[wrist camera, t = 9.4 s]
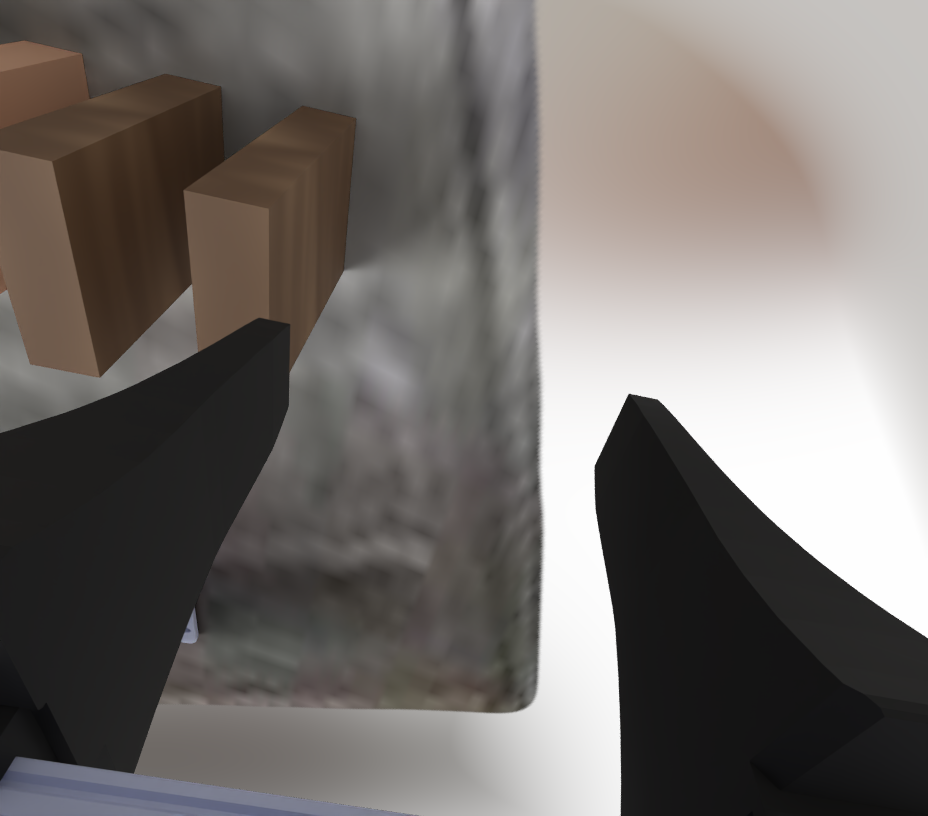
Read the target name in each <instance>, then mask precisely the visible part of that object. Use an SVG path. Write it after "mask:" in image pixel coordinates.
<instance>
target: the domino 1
mask: <svg viewBox="0 0 928 816" xmlns="http://www.w3.org/2000/svg"><path fill="white" fill-rule="evenodd" d="M89 99H90V97H89V92H88V86H87V80H86V74H85V69H84V63H83V57H82V54H81V53H76V52H72V51H68V50H63V49H59V48H55V47H50V46H46V45H42V44H37V43H33V42H29V41H19V42H13V43H7V44H1V45H0V129H2V128H5V127H8V126H11V125H14V124H17V123H20V122H23V121H26V120H29V119H32V118H35V117H38V116H41V115H44V114H47V113H50V112H53V111H56V110H59V109H62V108H65V107H68V106H71V105H74V104H77V103H80V102H83V101H86V100H89ZM5 290H7V287H6V283H5V280H4V277H3V274H2V270H1V267H0V294H1V293H2V292H4V291H5Z"/></svg>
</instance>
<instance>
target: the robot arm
mask: <svg viewBox="0 0 928 816" xmlns="http://www.w3.org/2000/svg"><path fill="white" fill-rule="evenodd" d="M289 366H290V324H288V323H283V322H278V321H273V320H268V319H264V318H257V319H255V320H253V321H251V322H250V323H248V324H246V325H244V326H243V327H241V328H239V329H237V330H236V331H234V332H232V333H231V334H229V335H227V336H226V337H224V338H222V339H221V340H219V341H217V342H215V343H214V344H212V345H210V346H208V347H207V348H205V349H203V350H201V351H199V352H198V353H196V354H194V355H192V356H191V357H189V358H187V359H185V360H183V361H182V362H180V363H178V364H176V365H174V366H172V367H170V368H168V369H166V370H164V371H162V372H160V373H158V374H156V375H154V376H152V377H150V378H148V379H146V380H144V381H142V382H140V383H138V384H136V385H133V386H131V387H129V388H127V389H124V390H122V391H120V392H117V393H115V394H113V395H110V396H108V397H105V398H103V399H100V400H98V401H95V402H93V403H90V404H88V405H85V406H82V407H80V408H77V409H74V410H72V411H69V412H66V413H63V414H60V415H57V416H54V417H50V418H47V419H44V420H41V421H38V422H35V423H32V424H28V425H25V426H22V427H19V428H16V429H13V430H10V431H6V432H3V433H0V816H417V815H410V814H404V813H397V812H390V811H383V810H376V809H370V808H363V807H356V806H349V805H342V804H336V803H329V802H322V801H316V800H309V799H302V798H295V797H288V796H281V795H274V794H267V793H261V792H254V791H248V790H241V789H234V788H227V787H220V786H214V785H206V784H200V783H193V782H186V781H180V780H173V779H166V778H159V777H153V776H145V775H139V774H134V771H135V768H136V766H137V763H138V760H139V757H140V754H141V751H142V748H143V745H144V742H145V739H146V737H147V734H148V731H149V728H150V725H151V722H152V719H153V716H154V713H155V710H156V708H157V705H158V702H159V700H160V697H161V694H162V691H163V689H164V686H165V683H166V681H167V678H168V675H169V672H170V670H171V667H172V664H173V661H174V659H175V656H176V653H177V651H178V648H179V646H180V643H181V642H184V643H195V642H196V641H197V638H198V636H199V634H198V627H197V620H196V613H195V605H196V602H197V600H198V597H199V595H200V592H201V590H202V587H203V585H204V583H205V580H206V578H207V575H208V573H209V570H210V568H211V566H212V563H213V561H214V558H215V556H216V554H217V552H218V550H219V548H220V546H221V544H222V542H223V540H224V538H225V536H226V534H227V532H228V530H229V529H230V527H231V525H232V523H233V521H234V519H235V518H236V516H237V514H238V512H239V510H240V508H241V507H242V505H243V503H244V501H245V499H246V497H247V496H248V494H249V492H250V490H251V488H252V486H253V485H254V483H255V481H256V479H257V477H258V475H259V474H260V472H261V470H262V468H263V466H264V464H265V462H266V461H267V459H268V457H269V455H270V453H271V451H272V449H273V447H274V444H275V442H276V439H277V437H278V434H279V431H280V429H281V426H282V423H283V421H284V418H285V415H286V412H287V410H288V407H289ZM595 505H596V514H597V521H598V527H599V532H600V539H601V544H602V550H603V556H604V561H605V566H606V572H607V578H608V584H609V589H610V595H611V601H612V606H613V614H614V621H615V629H616V645H617V661H618V677H619V702H620V729H621V816H928V638H926V637H925V636H923V635H922V634H920V633H919V632H917V631H916V630H914V629H913V628H911V627H910V626H908V625H906V624H905V623H904V622H902V621H901V620H899V619H897V618H896V617H894V616H893V615H891V614H890V613H888V612H887V611H885V610H884V609H883V608H881V607H880V606H878V605H877V604H875V603H874V602H873V601H871V600H870V599H868V598H867V597H865V596H864V595H863V594H861V593H860V592H858V591H857V590H856V589H855V588H853V587H852V586H850V585H849V584H847V582H845V581H844V580H843V579H841V578H840V577H838V576H837V575H836V574H834V573H833V572H832V571H831V570H829V569H828V568H827V567H825V566H824V565H823V564H822V563H820V562H819V561H818V560H817V559H815V558H814V557H813V556H812V555H810V554H809V553H808V552H807V551H806V550H804V549H803V548H802V547H801V546H800V545H799V544H798V543H796V542H795V541H794V540H793V539H792V538H791V537H789V536H788V535H787V534H786V533H785V532H784V531H783V530H781V529H780V528H779V527H778V526H777V525H776V524H775V523H774V522H773V521H771V520H770V519H769V518H768V517H767V516H766V515H765V514H764V513H763V512H762V511H761V510H760V509H759V508H758V507H757V506H756V505H755V504H754V503H753V502H752V501H751V500H750V499H749V498H748V497H747V496H746V495H745V494H744V493H743V492H742V491H741V490H740V489H739V488H738V487H737V486H736V485H735V484H734V483H733V482H732V481H731V480H730V479H729V478H728V477H727V476H726V474H724V472H723V471H722V470H721V469H720V468H719V467H718V466H717V465H716V464H715V463H714V461H713V460H712V459H711V458H710V457H709V456H708V455H707V453H706V452H705V451H704V450H703V449H702V448H701V447H700V446H699V444H698V443H697V442H696V441H695V440H694V439H693V438H692V436H691V435H690V434H689V433H688V432H687V431H686V430H685V428H684V427H683V426H682V425H681V424H680V423H679V422H678V421H677V419H676V418H675V417H674V416H673V415H672V414H671V413H670V412H669V411H668V410H667V408H666V407H665V406H664V405H663V404H662V403H660V401H658V400H657V399H652V398H647V397H641V396H637V395H632V394H629V395H628V397H627V399H626V401H625V403H624V405H623V407H622V409H621V412H620V414H619V416H618V418H617V420H616V422H615V424H614V426H613V429H612V431H611V433H610V435H609V437H608V439H607V441H606V443H605V445H604V447H603V450H602V452H601V454H600V456H599V458H598V460H597V462H596V464H595Z"/></svg>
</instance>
